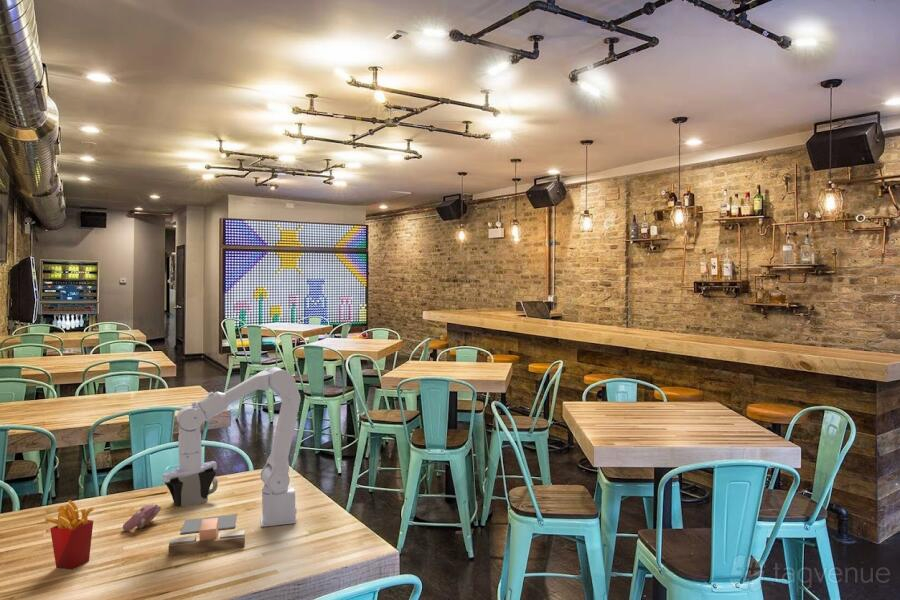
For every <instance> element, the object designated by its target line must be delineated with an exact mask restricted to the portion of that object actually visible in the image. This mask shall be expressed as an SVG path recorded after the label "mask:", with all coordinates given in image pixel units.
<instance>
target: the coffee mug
mask: <svg viewBox="0 0 900 600" xmlns="http://www.w3.org/2000/svg"><path fill="white" fill-rule="evenodd" d="M179 480H180V482H183V485H182V491H181V506H180V507H194V506H198V505H201V504H204V503H205V502H207V501H208V497H209V495H212V494H214V493H215V492H216V491H217V489H218V484H219V482H218V478H217V477H216V476H215V477H214V479H213V481H212V488H210V489H209V492H208V497H207V498H206V499H205V498H202V497H201V493H200V479H199V475H198V473H197V474H193V475H189V476H186V477H182V478H179Z"/></svg>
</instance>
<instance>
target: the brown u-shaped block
mask: <svg viewBox="0 0 900 600" xmlns="http://www.w3.org/2000/svg"><path fill="white" fill-rule="evenodd" d="M245 531H246V530H245V529H242V530H233V531H232V530H231V531H224V532H223V531H222V532H220V533H219V535H220V536H219V538H218V539H213V540H204V541H199V540H197V536H196V535H188V536H180V537H171V538H170V540H169V542H168V557H172V556H180V555H181V556H182V555H189V554H190V555H191V554H196V553H198V554H199V553H206V552H213V551H222V550H229V549H231V550H232V549H237V548H245V543H246V532H245Z"/></svg>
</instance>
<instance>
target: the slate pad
mask: <svg viewBox="0 0 900 600" xmlns="http://www.w3.org/2000/svg"><path fill="white" fill-rule="evenodd" d="M237 516H238V515H237V513H236V514H234V513H233V514H227V515H226V514H225V515H218V516H217V515H215V516H206V517H198V518H189V519H184V522H183V525H182V527H181V531H180V535H186V534H197V533H199V530H200V526H201V523H202V519H211V518H218V531H221V530H231V529H235V528H236V521H237Z"/></svg>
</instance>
